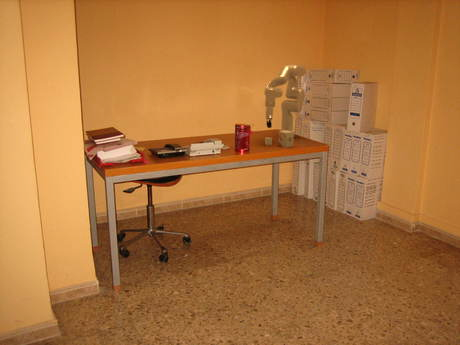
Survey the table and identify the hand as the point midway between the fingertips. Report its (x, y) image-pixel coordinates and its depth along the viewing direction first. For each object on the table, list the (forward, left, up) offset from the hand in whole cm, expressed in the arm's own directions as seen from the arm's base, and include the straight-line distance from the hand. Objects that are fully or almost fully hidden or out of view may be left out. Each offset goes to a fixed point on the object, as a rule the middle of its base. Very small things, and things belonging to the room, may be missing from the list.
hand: (268, 126), depth 338 cm
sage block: (-1, 0, -14) cm, 14 cm away
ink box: (+5, +13, -14) cm, 20 cm away
